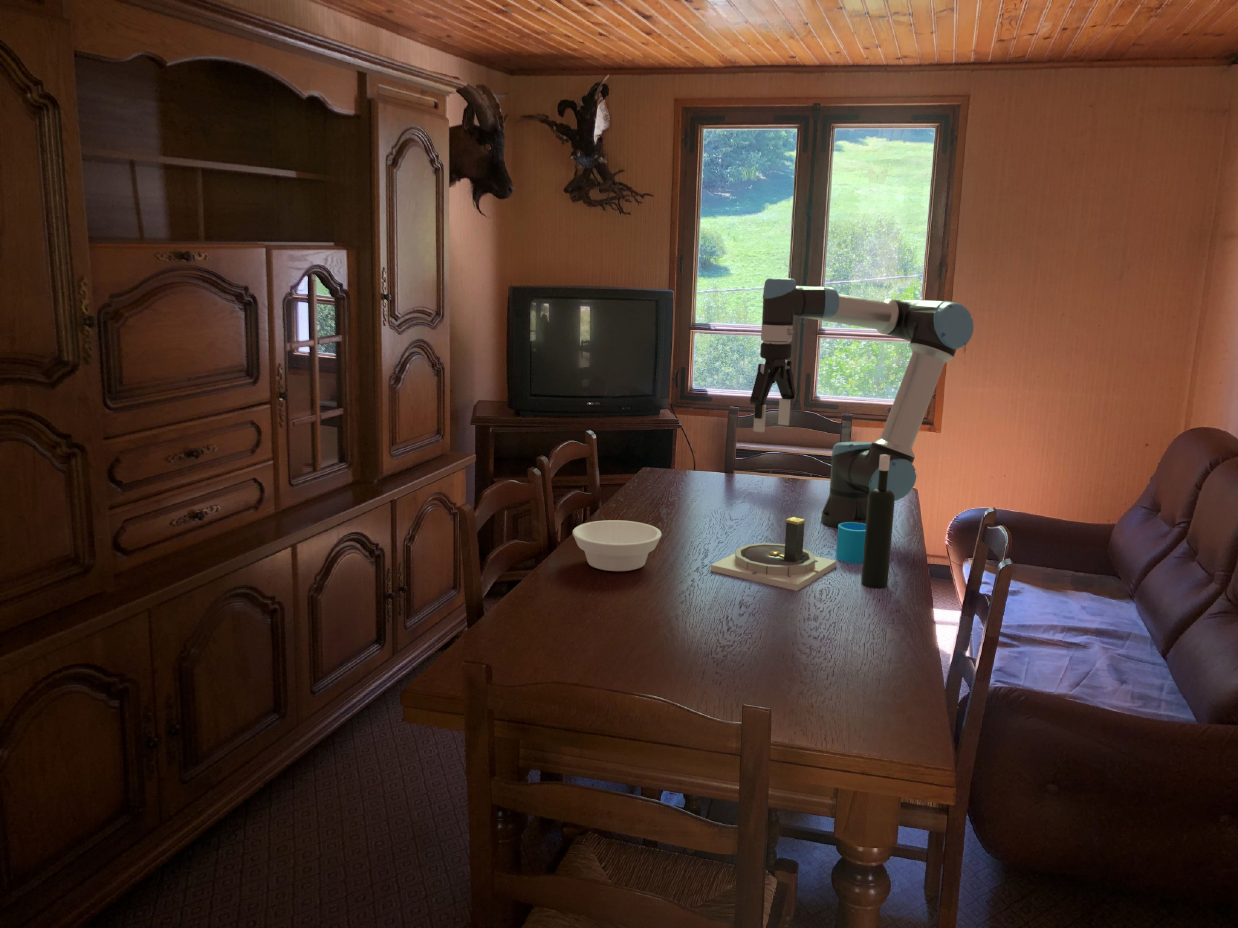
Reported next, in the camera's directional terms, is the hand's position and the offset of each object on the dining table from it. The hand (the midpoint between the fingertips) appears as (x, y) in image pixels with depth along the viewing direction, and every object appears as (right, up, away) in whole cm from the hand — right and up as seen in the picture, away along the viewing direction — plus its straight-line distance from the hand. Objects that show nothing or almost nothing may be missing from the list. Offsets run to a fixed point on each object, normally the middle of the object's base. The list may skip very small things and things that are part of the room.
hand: (771, 428), depth 239 cm
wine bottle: (+20, -36, -20) cm, 46 cm away
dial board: (-1, -34, -11) cm, 36 cm away
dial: (-1, -32, -12) cm, 34 cm away
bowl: (-39, -33, -11) cm, 52 cm away
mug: (+20, -32, 0) cm, 38 cm away
